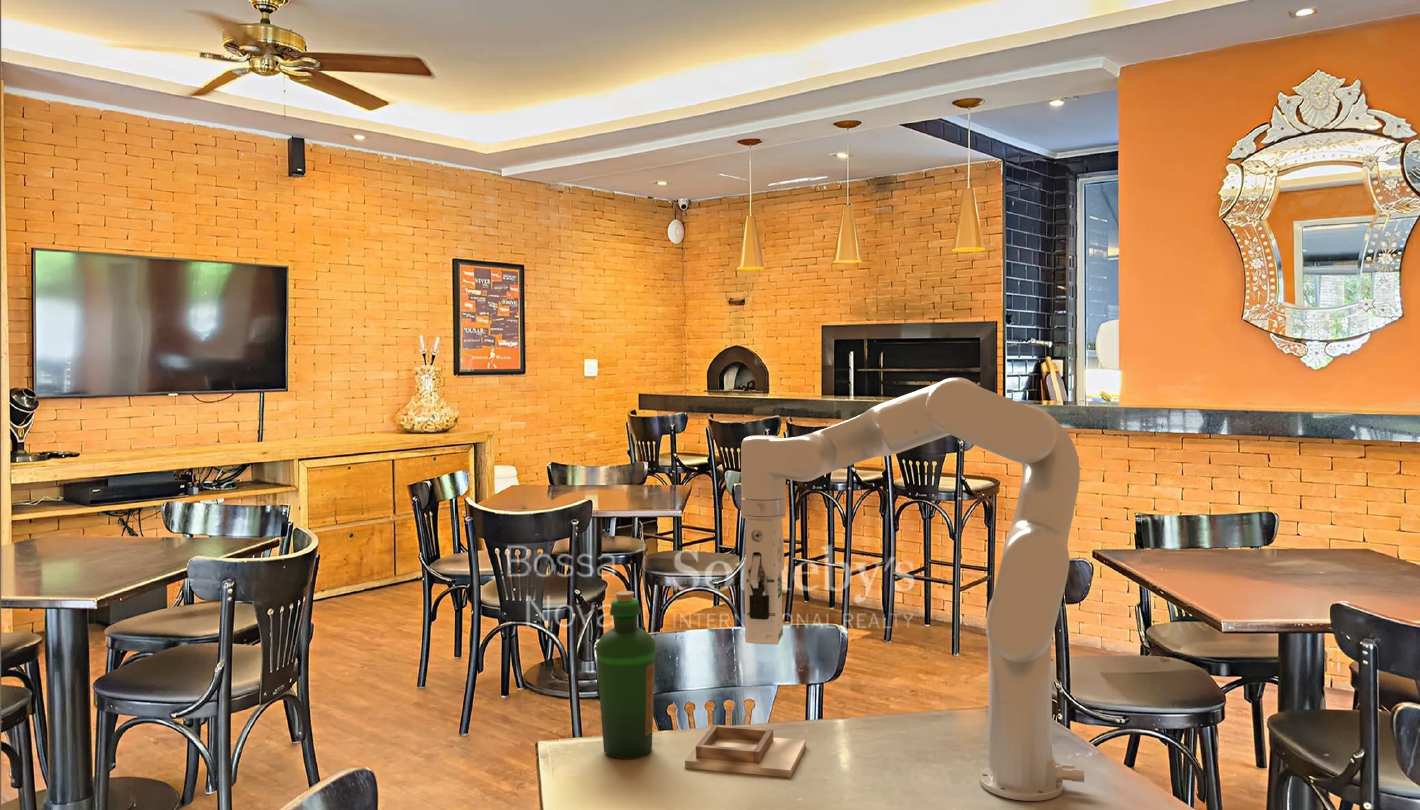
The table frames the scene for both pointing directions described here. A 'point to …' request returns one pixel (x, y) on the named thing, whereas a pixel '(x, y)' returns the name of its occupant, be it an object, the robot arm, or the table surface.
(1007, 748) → the robot arm
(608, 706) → the bottle
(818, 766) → the table surface
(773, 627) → the syrup box
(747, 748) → the stand board
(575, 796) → the table surface
